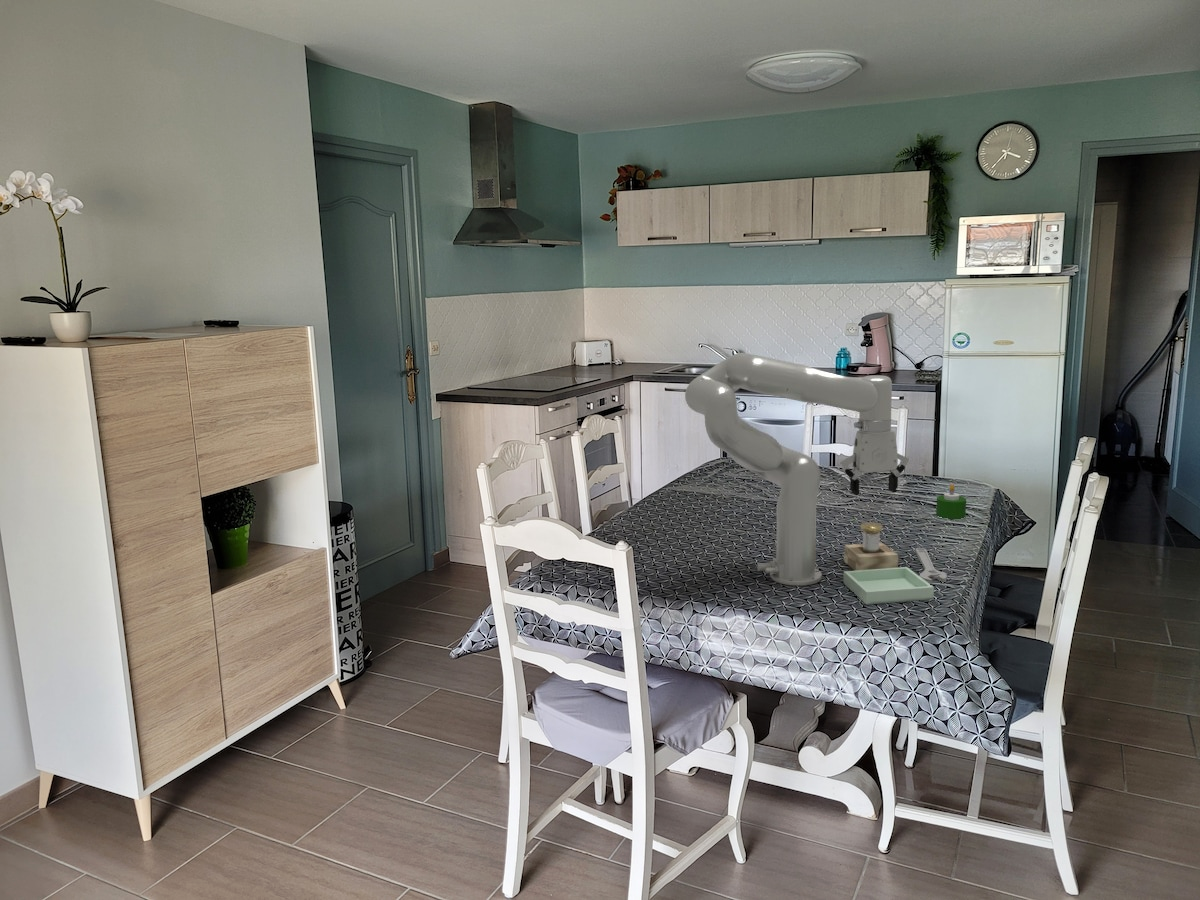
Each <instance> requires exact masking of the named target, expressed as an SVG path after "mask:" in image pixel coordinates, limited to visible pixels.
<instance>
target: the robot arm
mask: <svg viewBox="0 0 1200 900" xmlns="http://www.w3.org/2000/svg"><path fill="white" fill-rule="evenodd" d="M740 389H742V390H746V391H749V392H753V393H757V394H758V393H759V394H762V395H763V394H764V395H767V396H774V397H777V398H778V397H779V398H782V399H783V398H784V399H787V400H793V401H798V402H802V403H809V404H817V405H824V406H828V407H833V408H838V409H842V410H843V409H844V410H848V411H853V412H857V413H858V414H859V418H858V421H857V422H854V423H853V427H854V428H856V429H858V430H857V431H856V434H855V437H854V444H853V452H852V455H849V456H848V457H846V458H844V459H843V460H841V461H840V463H839V465H840V467H841V469H842V471H843V473H844V474H846V476H847V477H848V478H849V479H850V481H849V483H850V485H849V488H850V491H851V493H852V494H854V495H855V496H859V495H860V480H859V477H860V475H861V474H862V473H864V474H867V473H868V474H869V473H870V474H871V473H883V472H889V474H888V485H887V486H888V491H891V492H892V493H897V489H898V487H899V477H900V476H901V474H902V473H903V471H905V469H906V466H907V464H908V462H909V460H910V459H909V458H908V457H907V456H904V455H903V454H900V453H898V447H897V438H896V432H895V431H894V430H892V401H893V399H892V397H893V396H892V395H893V393H892V391H893V381H892V379H891V377H889V376H887V375H878V374H877V375H872V374H871V375H865V376H862V377H859V376H858V377H856V376H855V377H853V376H844V375H840V374H835V373H831V372H828V371H824V370H822V369H819V368H815V367H811V366H808V365H804V364H799V363H794V362H791V361H785V360H780V359H776V358H771V357H768V356H767V357H766V356H762V355H758V354H751V353H746V352H737V353H735V354H732V355H730V356H729V357H727V358H725V359H723V360H722V361H720V362H719V363H717V364H716V365H714V366H712V367H711V368H709V369H708V370H706V371H704V372H703V373H702V374H699V375H698V376H697V377H695V378H694V379H693V380H692V381H690V382H689V384H688V385H687V387H686V390H685V392H684V394H685V395H684V399H685V403H686V405H687V406H688V407H689V408H690V409H691V410H692V411H694V412H696V413H697V414H701V415H703V416H704V424H705V425H704V426H705V430H706V434H707V436H708V439H709V440H710V442H711V443H712V444H713V445H714V446H715V447H717V448H719V450H722V451H723V452H724V453H727V455H730V457H731V459H732V461H734V462H735V463H736V464H738V465H739V466H741V467H743V468H745V469H747V470H748V471H749V472H751V473H754V474H755V475H757V476H759V477H761V478H764V479H765V480H767V481H768V482H770V483H773V484H774V485H776V486H778V487H780V493H779V495H778V498H777V504H776V547H775V548H776V550H775V551H776V557H772V561H769V562H761V563H760V562H759V563H757V564H756V569H757V571H758V572H761V571H763V572H765V574H769V577H770V579H771V580H772V581H774V582H776V583H778V584H782V585H785V586H786V585H787V586H798V587H800V586H802V587H803V586H810V585H814V584H817V583H819V582H820V581H821V580H822V575H823V574H822V572H821V571H820V570H819V569H818V568H816V558H817V557H816V556H817V555H816V552H817V551H816V549H817V547H816V546H817V545H816V544H817V536H816V535H817V505H818V504H817V503H818V494H819V488H820V485H821V484H820V483H821V477H822V476H821V474H822V473H821V470H820V467H819V465H818V463H817V462H816V461H815V459H813V458H812V457H810V456H809V455H807V454H804V453H802V452H800V451H799V452H798V451H796V450H793V449H790V448H788V447H786V446H784V445H782V444H780V442H778V440H777V439H776V438H774V437H773V436H772V435H770V434H768V433H766V432H764V431H762V430H759V429H758V428H756V427H753V426H752V425H751V424H749V423H747V422H746V421H745V420H743V419H742V418H741V417H740V416H739V413H738V403H737V396H736V394H735V392H738V391H739V390H740ZM898 460H899V461H898ZM898 462H899V464H898ZM850 464H852V466H853V468H852V469H851V470H850V468H849V465H850Z"/></svg>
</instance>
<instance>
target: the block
mask: <svg viewBox="0 0 1200 900" xmlns="http://www.w3.org/2000/svg"><path fill="white" fill-rule="evenodd" d="M843 557H844V559H843V561H844V563H845V564H846V565H848V566H849V567H850V568H851V569H852V571H857V570H871V569H886V568H899V554H898V553H897V552H896V551H894V550H893V549H891V548H890V547H888V546H887V545H886V544H885V543H883V542H879V553H869V554H865V553H863V543H853V544H844V556H843Z"/></svg>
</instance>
